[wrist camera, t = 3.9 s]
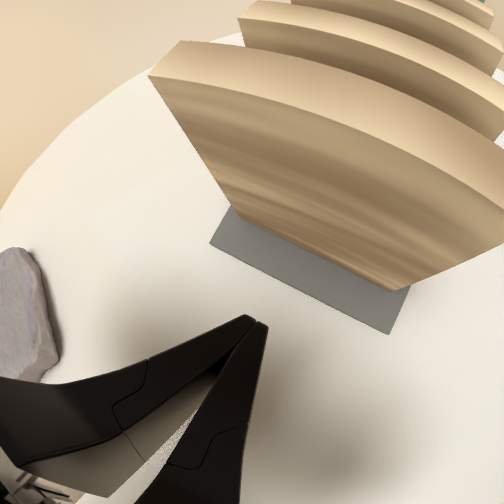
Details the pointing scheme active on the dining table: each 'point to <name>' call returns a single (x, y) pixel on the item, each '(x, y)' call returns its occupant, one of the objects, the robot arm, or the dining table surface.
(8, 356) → the stone block
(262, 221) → the domino
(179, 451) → the robot arm
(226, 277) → the dining table surface
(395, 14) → the domino
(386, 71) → the domino
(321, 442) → the dining table surface
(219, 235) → the mat
